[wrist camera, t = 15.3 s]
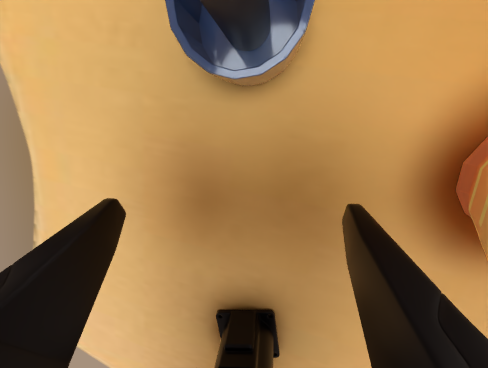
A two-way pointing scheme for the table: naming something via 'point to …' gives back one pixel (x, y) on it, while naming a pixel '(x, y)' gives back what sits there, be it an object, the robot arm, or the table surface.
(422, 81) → the table surface
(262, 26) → the disc
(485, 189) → the potted cactus
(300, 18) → the cup
